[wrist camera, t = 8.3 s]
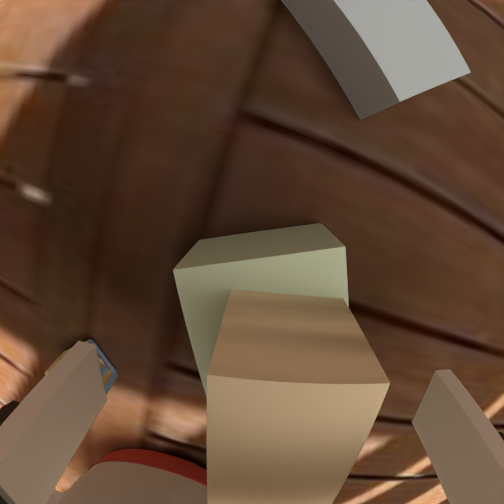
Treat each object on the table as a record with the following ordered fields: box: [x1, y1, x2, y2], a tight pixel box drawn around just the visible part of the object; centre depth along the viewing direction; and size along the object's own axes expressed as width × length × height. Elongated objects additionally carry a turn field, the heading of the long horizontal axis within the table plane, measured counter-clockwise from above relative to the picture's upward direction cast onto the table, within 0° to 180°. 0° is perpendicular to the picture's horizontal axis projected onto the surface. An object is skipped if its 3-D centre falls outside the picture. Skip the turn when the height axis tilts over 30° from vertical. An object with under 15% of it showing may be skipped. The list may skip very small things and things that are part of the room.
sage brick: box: [173, 223, 349, 397], centre depth 14 cm, size 10×6×5 cm, turn 9°
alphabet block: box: [45, 339, 118, 394], centre depth 17 cm, size 3×3×3 cm
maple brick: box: [207, 289, 390, 504], centre depth 10 cm, size 8×4×5 cm, turn 175°
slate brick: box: [281, 0, 471, 120], centre depth 10 cm, size 8×4×5 cm, turn 29°
